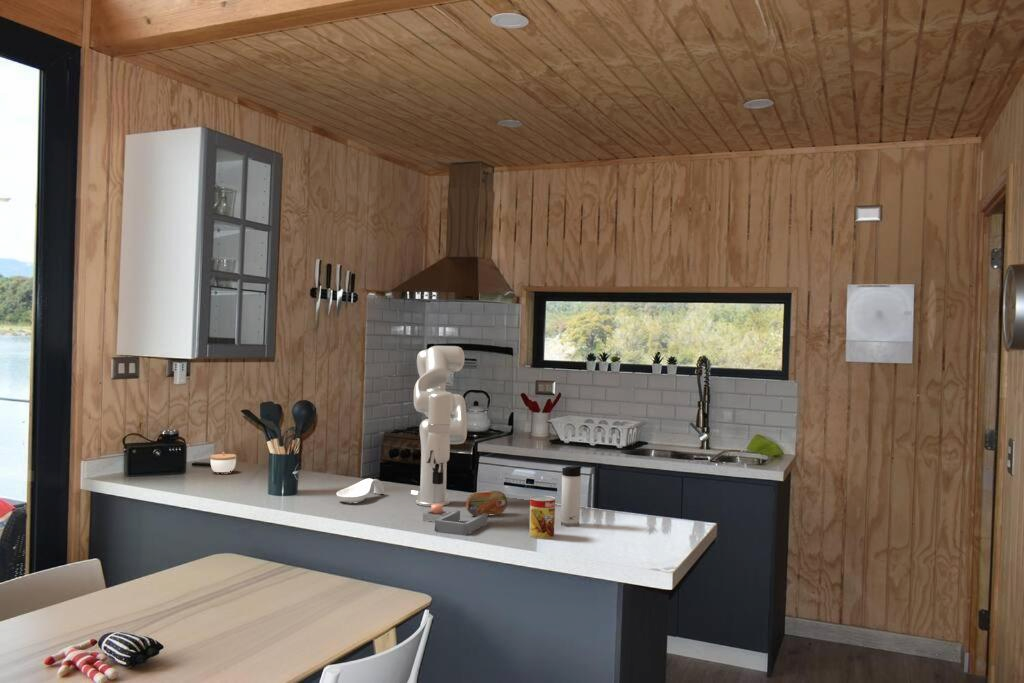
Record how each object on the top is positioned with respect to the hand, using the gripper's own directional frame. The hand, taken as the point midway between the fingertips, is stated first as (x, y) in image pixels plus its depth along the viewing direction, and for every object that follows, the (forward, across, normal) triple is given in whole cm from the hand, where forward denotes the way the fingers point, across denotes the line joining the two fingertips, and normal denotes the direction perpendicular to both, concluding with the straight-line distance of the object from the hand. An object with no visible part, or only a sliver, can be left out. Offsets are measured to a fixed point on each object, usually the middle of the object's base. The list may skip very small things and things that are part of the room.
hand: (437, 483), depth 273 cm
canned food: (+13, +4, +39) cm, 41 cm away
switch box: (+12, -1, 0) cm, 12 cm away
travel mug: (+13, -15, +43) cm, 47 cm away
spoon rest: (+12, -19, -40) cm, 46 cm away
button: (+10, -1, 0) cm, 10 cm away
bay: (+13, +5, +12) cm, 18 cm away
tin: (+12, -16, +12) cm, 23 cm away
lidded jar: (+11, -40, -121) cm, 128 cm away
